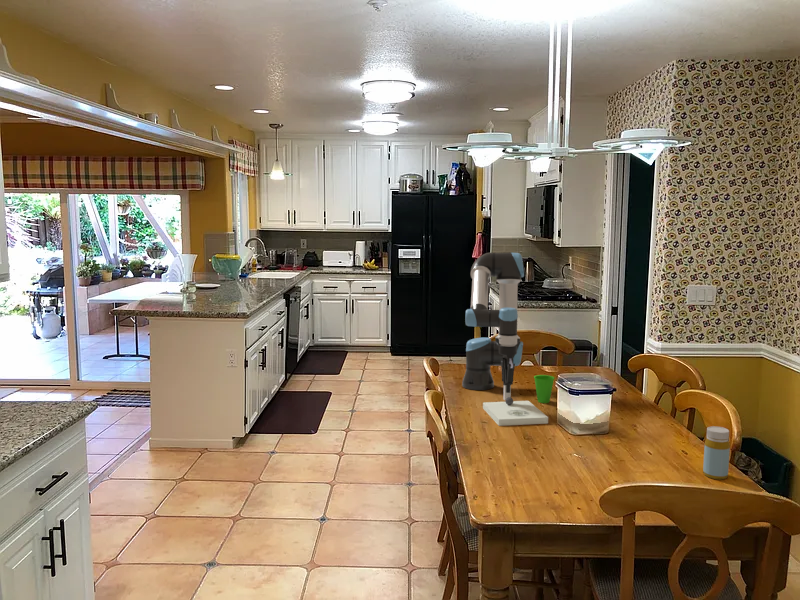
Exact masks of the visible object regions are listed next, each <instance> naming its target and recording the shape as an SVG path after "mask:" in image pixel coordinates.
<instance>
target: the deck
mask: <svg viewBox="0 0 800 600" xmlns="http://www.w3.org/2000/svg"><path fill="white" fill-rule="evenodd" d="M482 409H483V410H484V412H486V413H487V414H488V416H489V417H490V418H491V419H492V420H493V421H494V422H495V423H496V425H498V426H500V427H502V426H521V425H522V426H525V425H539V424H540V425H543V424H549V416H547V415H546V414H545V413H544V412H543V411H542V410H540V409H539V408H538V407H536V406H535V405H534V404H533V403H532V402H531V401H529V400H513V403H512V404H511V405H508V404H506V401H488V402H487V401H486V402H482Z"/></svg>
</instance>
